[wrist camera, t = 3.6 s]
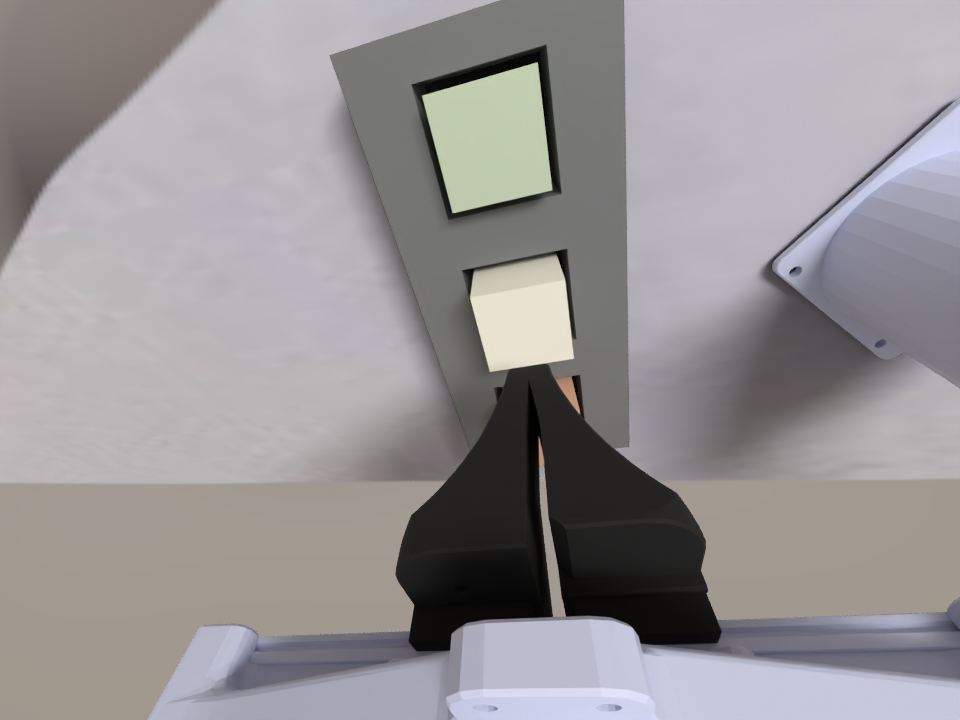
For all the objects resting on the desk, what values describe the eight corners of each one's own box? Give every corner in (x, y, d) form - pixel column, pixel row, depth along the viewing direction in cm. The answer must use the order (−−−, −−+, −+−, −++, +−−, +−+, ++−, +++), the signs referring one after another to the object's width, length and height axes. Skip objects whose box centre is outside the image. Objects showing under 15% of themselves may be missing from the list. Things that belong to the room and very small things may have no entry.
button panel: (618, 416, 24) (629, 446, 22) (477, 434, 25) (475, 464, 23) (603, -19, 13) (623, -39, 11) (354, 60, 14) (329, 55, 12)
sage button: (544, 174, 16) (552, 190, 13) (459, 195, 16) (452, 213, 14) (530, 67, 14) (537, 62, 11) (435, 94, 14) (422, 95, 12)
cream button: (564, 323, 18) (573, 358, 16) (491, 335, 19) (489, 372, 17) (555, 251, 16) (565, 279, 14) (474, 268, 17) (470, 298, 15)
